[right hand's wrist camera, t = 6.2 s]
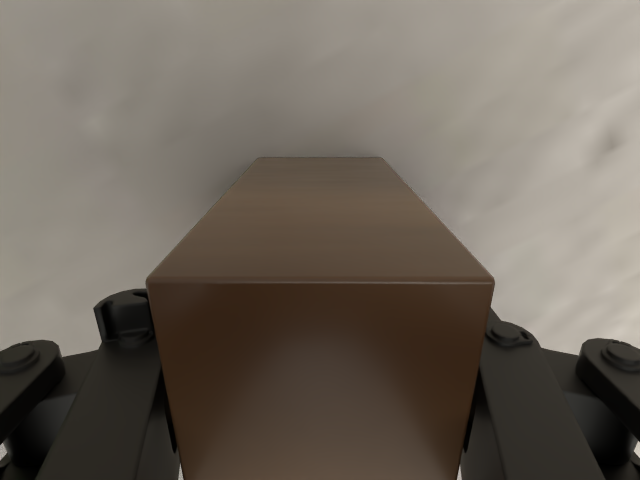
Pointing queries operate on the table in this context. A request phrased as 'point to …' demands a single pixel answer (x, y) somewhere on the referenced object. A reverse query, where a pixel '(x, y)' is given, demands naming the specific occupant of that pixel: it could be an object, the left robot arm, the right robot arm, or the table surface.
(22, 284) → the table surface
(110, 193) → the table surface
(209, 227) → the bar
